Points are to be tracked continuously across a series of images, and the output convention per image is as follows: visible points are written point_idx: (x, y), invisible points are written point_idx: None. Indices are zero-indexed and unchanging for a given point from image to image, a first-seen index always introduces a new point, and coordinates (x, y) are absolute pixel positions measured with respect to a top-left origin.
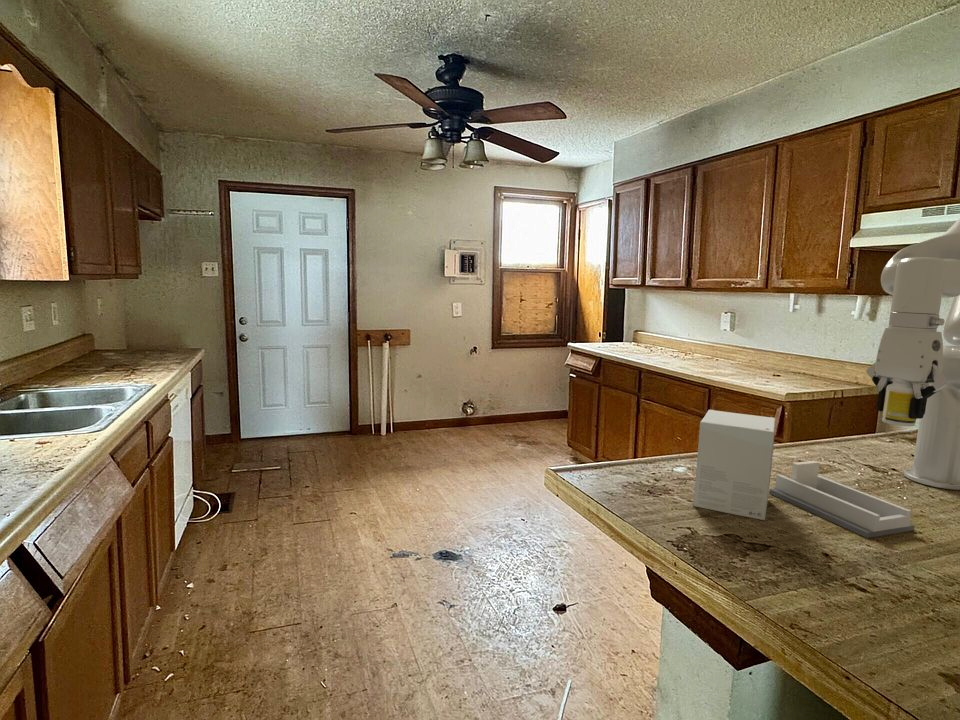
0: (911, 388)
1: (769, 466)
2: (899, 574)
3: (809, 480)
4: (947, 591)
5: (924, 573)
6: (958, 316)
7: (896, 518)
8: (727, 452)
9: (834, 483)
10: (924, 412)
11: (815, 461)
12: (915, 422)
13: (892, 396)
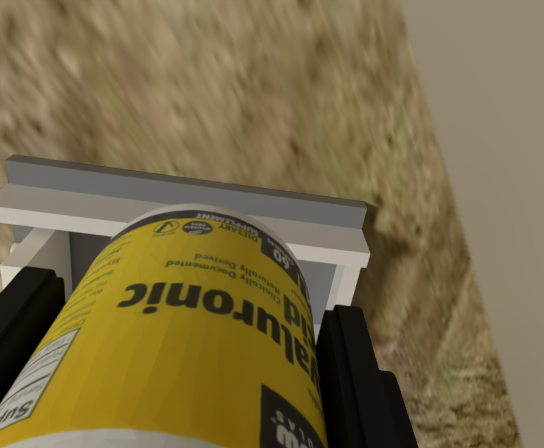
0: None
1: None
2: (435, 422)
3: (55, 263)
4: (507, 412)
5: (462, 387)
6: None
7: (353, 292)
8: None
9: (113, 235)
10: (394, 385)
11: (8, 269)
12: (303, 277)
13: None
